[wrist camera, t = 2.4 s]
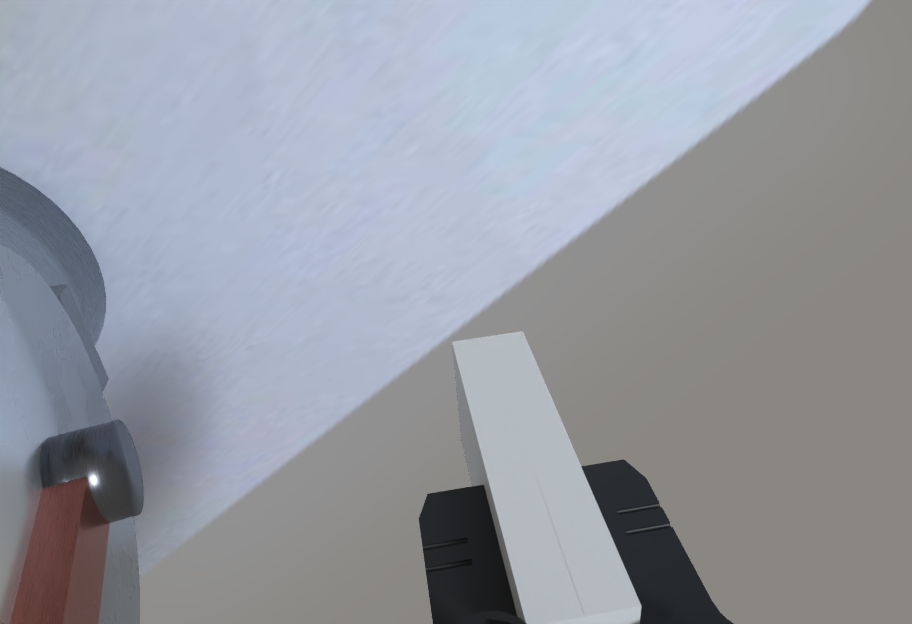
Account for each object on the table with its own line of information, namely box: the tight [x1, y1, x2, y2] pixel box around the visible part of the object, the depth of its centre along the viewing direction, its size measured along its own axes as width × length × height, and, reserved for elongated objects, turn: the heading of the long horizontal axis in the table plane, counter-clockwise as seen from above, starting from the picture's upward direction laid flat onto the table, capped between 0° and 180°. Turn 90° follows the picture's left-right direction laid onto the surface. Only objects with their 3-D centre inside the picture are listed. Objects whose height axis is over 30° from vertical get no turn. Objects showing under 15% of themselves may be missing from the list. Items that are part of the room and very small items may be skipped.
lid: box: [0, 245, 144, 624], centre depth 20 cm, size 15×14×3 cm
